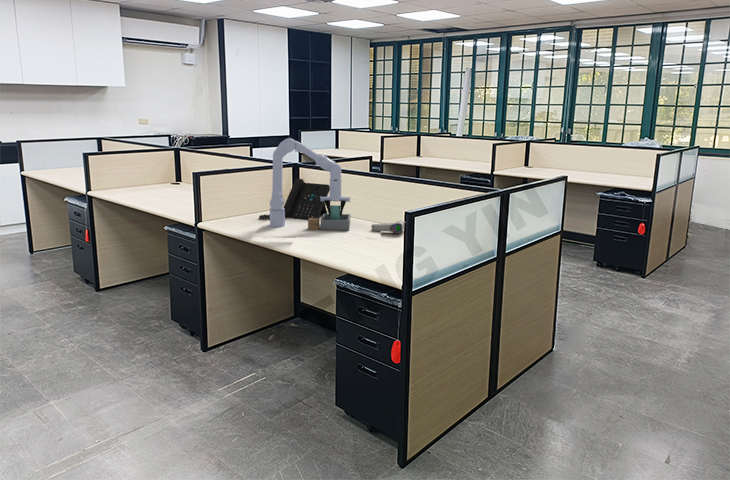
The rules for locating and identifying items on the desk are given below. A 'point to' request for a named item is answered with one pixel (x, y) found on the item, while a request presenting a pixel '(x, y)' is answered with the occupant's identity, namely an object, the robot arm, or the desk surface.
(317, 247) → the desk surface
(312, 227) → the walnut cube
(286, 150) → the robot arm
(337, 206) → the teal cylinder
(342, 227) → the charcoal tote
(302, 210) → the office phone
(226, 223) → the desk surface
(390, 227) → the infrared thermometer
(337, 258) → the desk surface
